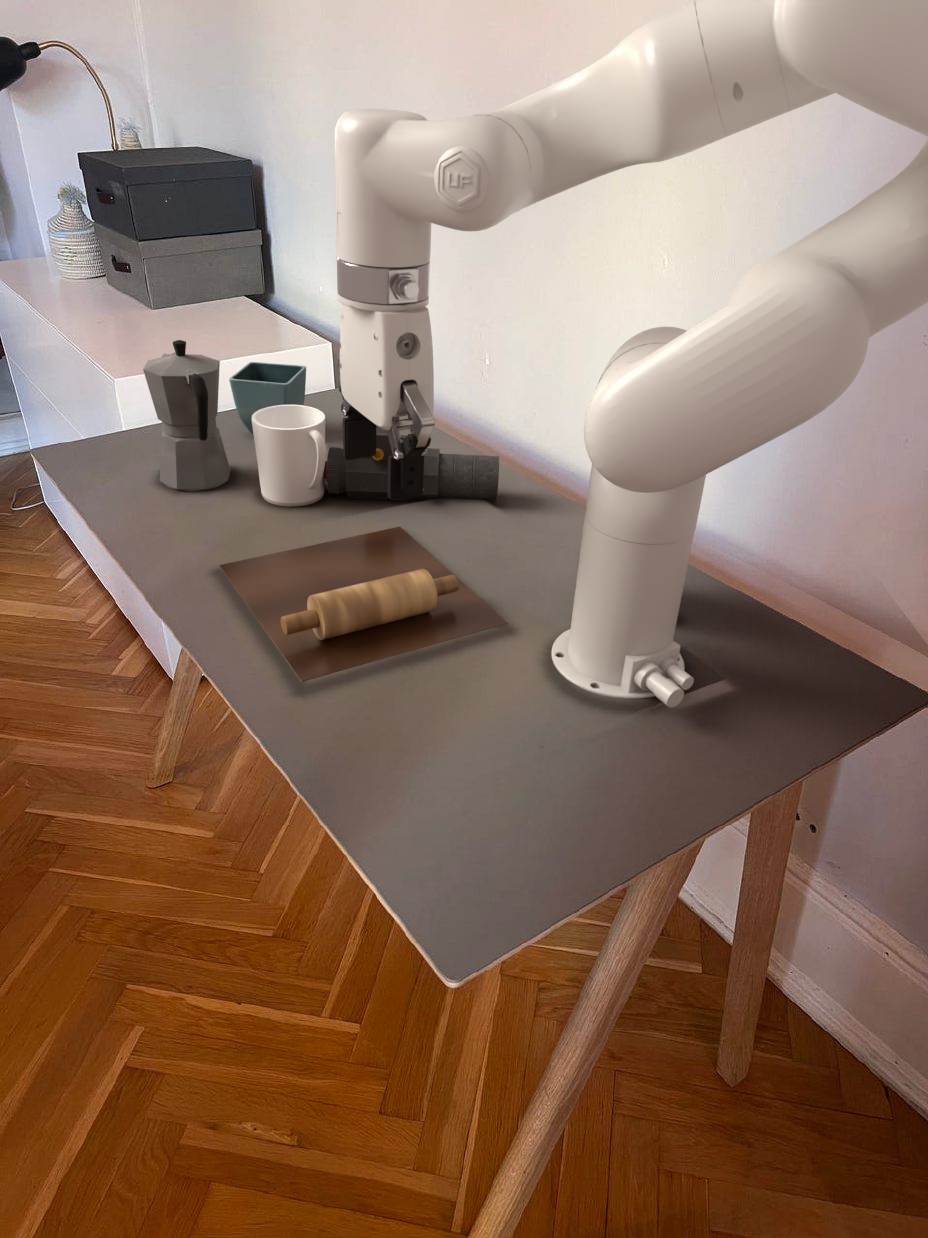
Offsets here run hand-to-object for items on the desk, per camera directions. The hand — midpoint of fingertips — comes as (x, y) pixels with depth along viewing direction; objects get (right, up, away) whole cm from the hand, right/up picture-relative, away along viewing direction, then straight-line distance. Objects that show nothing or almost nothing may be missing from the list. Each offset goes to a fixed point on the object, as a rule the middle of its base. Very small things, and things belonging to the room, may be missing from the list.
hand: (381, 476), depth 84 cm
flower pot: (-21, +15, +52) cm, 58 cm away
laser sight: (+1, +3, +35) cm, 35 cm away
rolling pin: (-1, -13, +7) cm, 15 cm away
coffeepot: (-27, +5, +36) cm, 45 cm away
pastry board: (-4, -11, +12) cm, 17 cm away
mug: (-14, +2, +33) cm, 36 cm away
